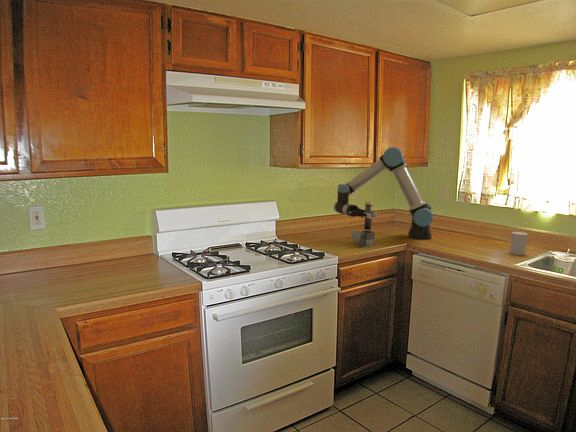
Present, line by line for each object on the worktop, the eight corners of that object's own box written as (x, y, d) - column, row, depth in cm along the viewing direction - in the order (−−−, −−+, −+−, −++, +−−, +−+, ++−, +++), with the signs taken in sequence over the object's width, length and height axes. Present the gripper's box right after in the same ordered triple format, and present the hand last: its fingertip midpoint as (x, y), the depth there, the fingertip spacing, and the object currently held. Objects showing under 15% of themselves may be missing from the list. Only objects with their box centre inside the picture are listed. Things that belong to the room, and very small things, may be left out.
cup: (528, 255, 241) (530, 234, 239) (514, 255, 241) (517, 234, 239) (519, 251, 249) (521, 231, 247) (506, 251, 249) (508, 231, 247)
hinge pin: (365, 228, 260) (366, 202, 257) (372, 229, 257) (374, 202, 255) (362, 229, 256) (364, 202, 253) (369, 230, 254) (371, 203, 251)
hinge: (354, 241, 267) (355, 228, 266) (375, 244, 259) (376, 231, 258) (345, 245, 255) (345, 232, 254) (366, 248, 248) (367, 235, 246)
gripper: (361, 215, 275) (384, 221, 255) (339, 216, 268) (362, 223, 247) (362, 204, 274) (385, 209, 254) (340, 204, 266) (362, 210, 246)
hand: (373, 216), depth 250 cm, fingers closed on hinge pin, 4 cm apart
